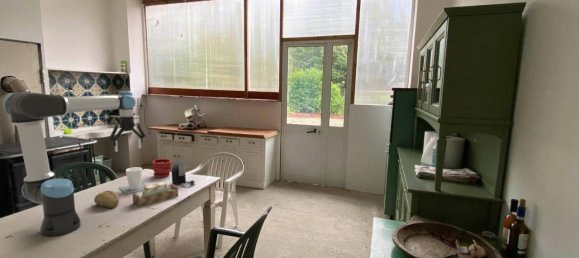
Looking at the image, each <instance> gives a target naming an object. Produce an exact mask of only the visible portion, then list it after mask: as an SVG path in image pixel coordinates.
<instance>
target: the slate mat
mask: <svg viewBox="0 0 579 258" xmlns="http://www.w3.org/2000/svg"><path fill="white" fill-rule="evenodd" d="M145 186H148V185H147V184H146V183H143V182H141V185H140V188H139V189H135V190H131V189H130V188H129V185H127V186H121V187H118V189H119V190H120V191H122V193H125V194H126V195H130V194H132V193H135V194H136V193H139V192H142V191H144V187H145Z"/></svg>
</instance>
